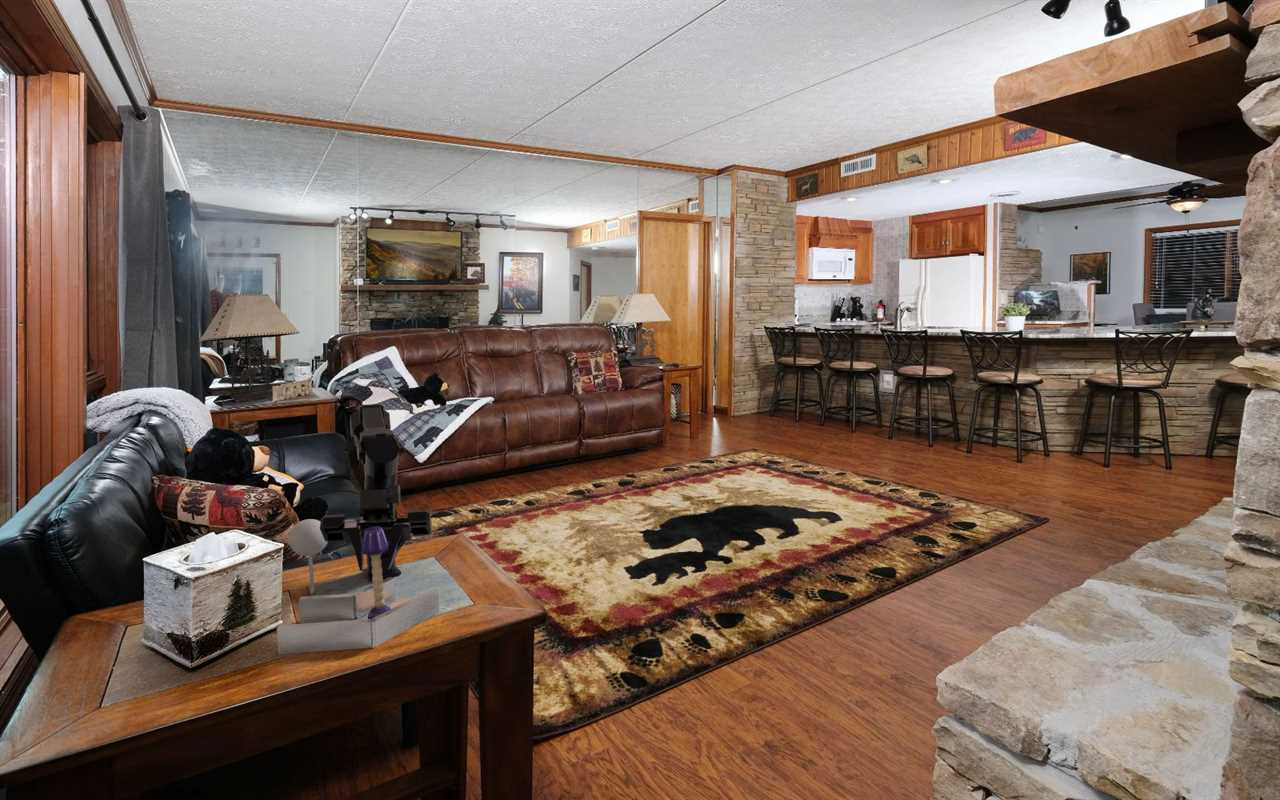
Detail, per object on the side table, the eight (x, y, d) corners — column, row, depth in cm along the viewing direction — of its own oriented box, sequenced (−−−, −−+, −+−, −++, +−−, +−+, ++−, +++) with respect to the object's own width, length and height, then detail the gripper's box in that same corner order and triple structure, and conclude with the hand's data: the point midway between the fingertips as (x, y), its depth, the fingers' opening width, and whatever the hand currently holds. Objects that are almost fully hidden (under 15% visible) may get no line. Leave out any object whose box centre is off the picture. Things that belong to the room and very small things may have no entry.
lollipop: (338, 592, 136) (333, 519, 134) (300, 603, 131) (295, 528, 129) (323, 582, 141) (318, 512, 139) (286, 592, 136) (281, 520, 134)
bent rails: (268, 628, 121) (266, 604, 120) (419, 592, 137) (418, 570, 136) (285, 672, 107) (283, 645, 106) (452, 626, 122) (451, 602, 122)
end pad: (403, 600, 133) (403, 598, 133) (430, 608, 130) (430, 606, 129) (374, 614, 127) (374, 612, 126) (402, 623, 123) (401, 621, 123)
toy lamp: (375, 625, 120) (371, 534, 118) (358, 618, 123) (354, 529, 120) (397, 615, 124) (394, 527, 122) (381, 608, 127) (377, 522, 124)
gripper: (318, 472, 121) (307, 554, 112) (428, 467, 125) (426, 546, 116) (330, 502, 130) (321, 580, 121) (432, 496, 134) (431, 571, 125)
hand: (374, 569), depth 121 cm, fingers closed on toy lamp, 4 cm apart
